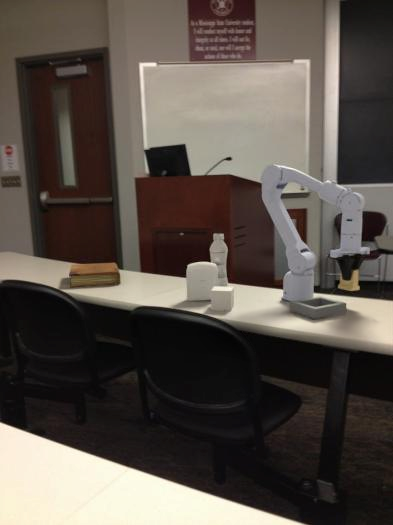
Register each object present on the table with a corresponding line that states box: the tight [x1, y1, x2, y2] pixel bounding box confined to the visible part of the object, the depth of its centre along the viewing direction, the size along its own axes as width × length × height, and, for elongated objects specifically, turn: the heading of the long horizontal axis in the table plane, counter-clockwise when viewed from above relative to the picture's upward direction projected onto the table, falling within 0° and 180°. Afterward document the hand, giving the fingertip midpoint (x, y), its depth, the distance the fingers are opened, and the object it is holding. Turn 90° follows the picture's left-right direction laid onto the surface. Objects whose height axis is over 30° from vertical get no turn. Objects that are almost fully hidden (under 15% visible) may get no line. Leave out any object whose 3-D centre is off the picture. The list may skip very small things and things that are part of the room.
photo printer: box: [185, 261, 218, 302], centre depth 142 cm, size 10×4×12 cm, turn 96°
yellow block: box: [337, 269, 361, 292], centre depth 131 cm, size 4×5×6 cm
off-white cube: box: [210, 286, 235, 312], centre depth 132 cm, size 6×6×6 cm
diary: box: [68, 262, 122, 288], centre depth 177 cm, size 23×19×6 cm
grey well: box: [289, 295, 347, 321], centre depth 126 cm, size 10×12×3 cm
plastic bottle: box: [209, 233, 229, 287], centre depth 155 cm, size 6×7×20 cm
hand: (349, 279), depth 131 cm, fingers closed on yellow block, 2 cm apart
